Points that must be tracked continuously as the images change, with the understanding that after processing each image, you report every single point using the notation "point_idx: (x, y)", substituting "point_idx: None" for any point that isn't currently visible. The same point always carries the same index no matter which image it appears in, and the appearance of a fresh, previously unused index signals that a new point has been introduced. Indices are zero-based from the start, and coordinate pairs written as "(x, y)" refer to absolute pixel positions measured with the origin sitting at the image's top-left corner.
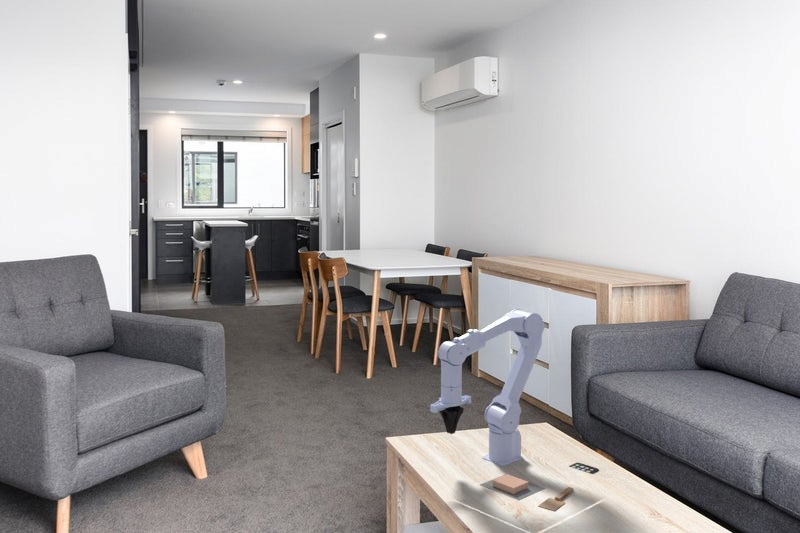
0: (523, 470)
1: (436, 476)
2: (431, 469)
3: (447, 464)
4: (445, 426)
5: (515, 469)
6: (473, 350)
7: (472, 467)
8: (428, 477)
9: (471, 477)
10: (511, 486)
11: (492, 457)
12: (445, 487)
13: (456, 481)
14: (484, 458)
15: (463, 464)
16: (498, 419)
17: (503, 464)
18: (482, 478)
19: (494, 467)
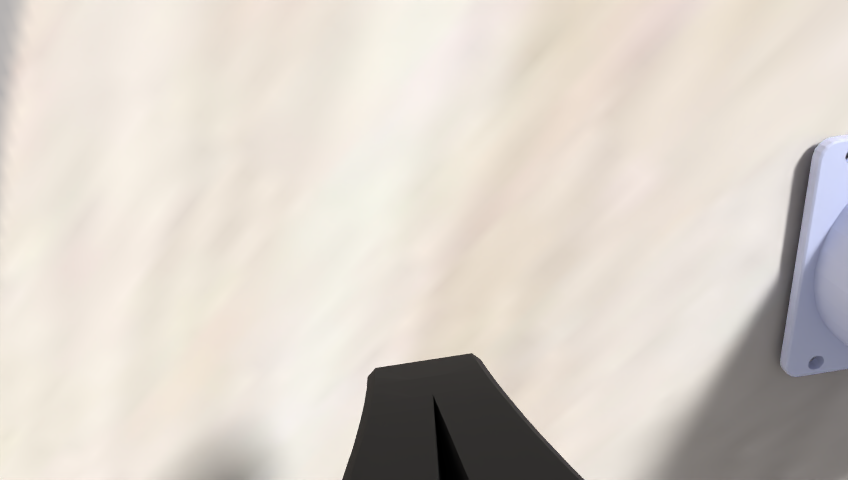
0: (817, 477)
1: (128, 235)
2: (183, 50)
3: (437, 36)
4: (350, 457)
5: (796, 440)
6: None
7: (580, 244)
8: (33, 212)
9: None
10: None
11: (837, 276)
12: (73, 453)
13: (236, 406)
14: (816, 181)
15: (573, 137)
16: None
17: (798, 372)
18: None
19: (721, 339)
